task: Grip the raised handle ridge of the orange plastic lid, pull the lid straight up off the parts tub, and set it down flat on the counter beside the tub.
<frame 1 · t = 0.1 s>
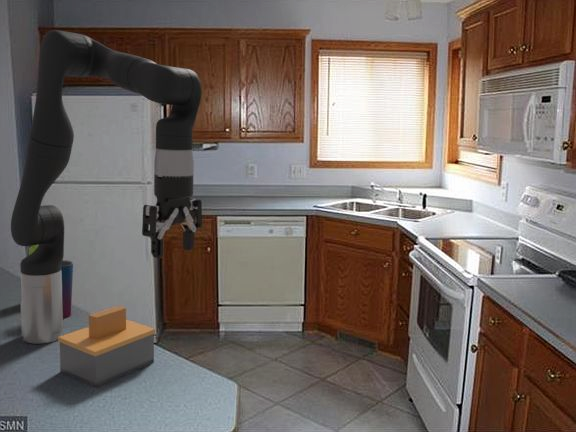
hand: (173, 253, 112), 29 cm above the counter, tool pointing down, fingers open, 8 cm apart
tub: (108, 366, 126), on the counter
lid: (108, 337, 125), point 7 cm above the counter, touching tub
soap dispenser: (38, 303, 166), on the counter
cup: (61, 316, 156), on the counter
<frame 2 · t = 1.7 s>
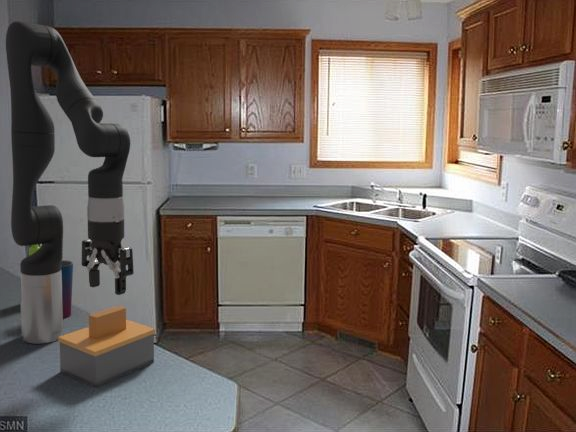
hand: (107, 290, 123), 18 cm above the counter, tool pointing down, fingers open, 8 cm apart
nothing on the counter moved.
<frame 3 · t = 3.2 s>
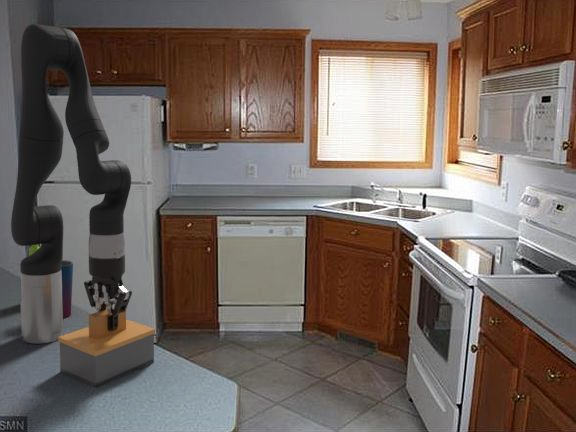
hand: (108, 328, 125), 9 cm above the counter, tool pointing down, fingers closed on lid, 2 cm apart
lid: (108, 337, 125), point 7 cm above the counter, touching gripper, tub
everything else where it was.
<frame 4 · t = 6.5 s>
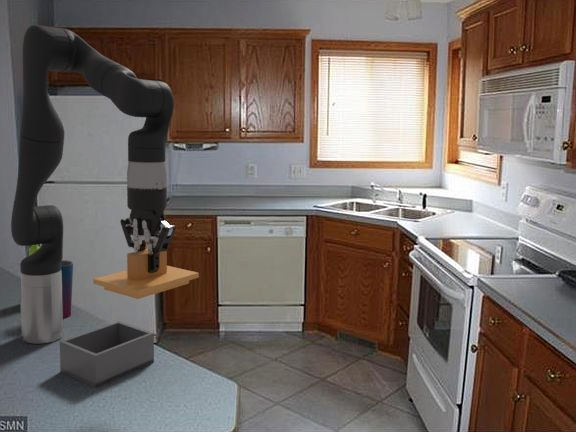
hand: (147, 270, 112), 26 cm above the counter, tool pointing down, fingers closed on lid, 2 cm apart
lid: (147, 280, 112), point 23 cm above the counter, touching gripper
everything else where it was.
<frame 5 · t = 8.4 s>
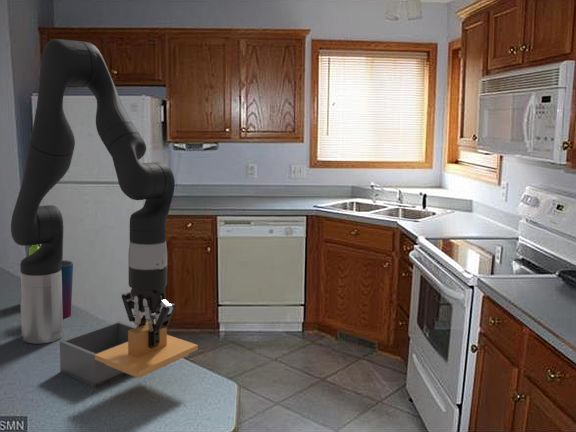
hand: (148, 344, 115), 10 cm above the counter, tool pointing down, fingers closed on lid, 2 cm apart
lid: (147, 354, 115), point 8 cm above the counter, touching gripper
everything else where it was.
when the fingers open (5 cm above the counter, at t = 9.7 s): lid drops 2 cm, point 1 cm above the counter.
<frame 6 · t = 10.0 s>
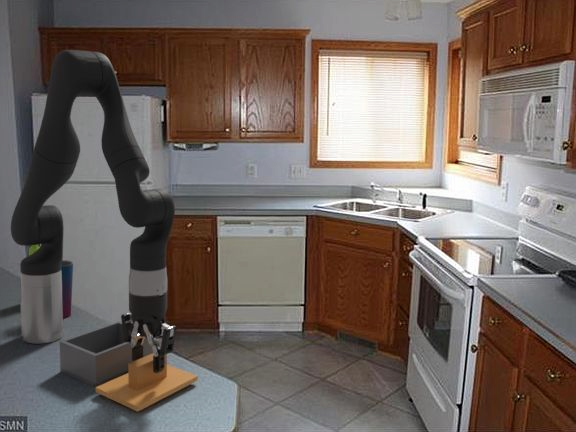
hand: (148, 367, 116), 5 cm above the counter, tool pointing down, fingers open, 5 cm apart
lid: (148, 386, 116), point 1 cm above the counter
everything else where it was.
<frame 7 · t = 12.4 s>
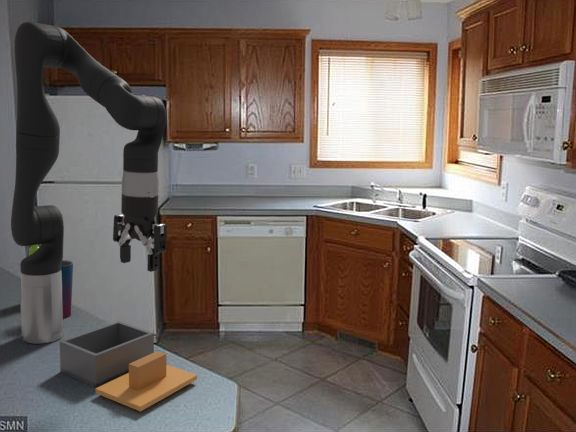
hand: (138, 266, 121), 24 cm above the counter, tool pointing down, fingers open, 8 cm apart
nothing on the counter moved.
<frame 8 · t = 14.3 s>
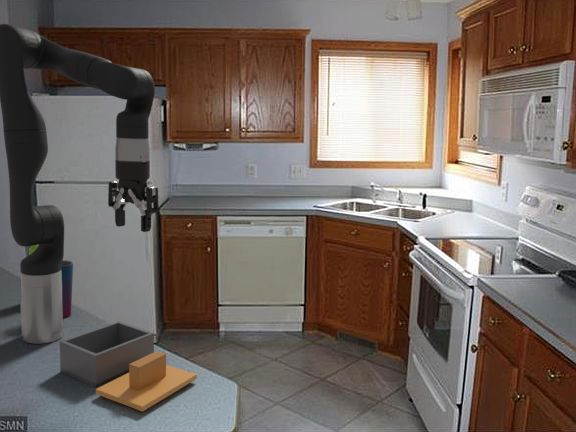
hand: (132, 228, 130), 30 cm above the counter, tool pointing down, fingers open, 8 cm apart
nothing on the counter moved.
at the end: lid inside the target area (0.0 cm from its centre), point 0.8 cm above the counter; lid touching counter; lid tilted 0° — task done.
